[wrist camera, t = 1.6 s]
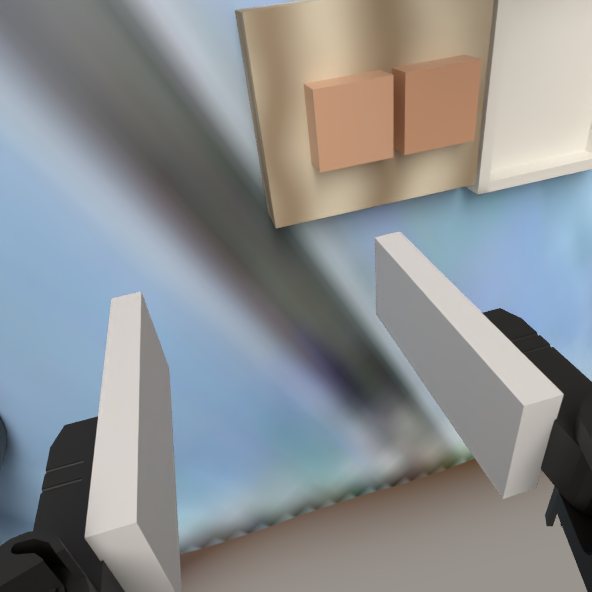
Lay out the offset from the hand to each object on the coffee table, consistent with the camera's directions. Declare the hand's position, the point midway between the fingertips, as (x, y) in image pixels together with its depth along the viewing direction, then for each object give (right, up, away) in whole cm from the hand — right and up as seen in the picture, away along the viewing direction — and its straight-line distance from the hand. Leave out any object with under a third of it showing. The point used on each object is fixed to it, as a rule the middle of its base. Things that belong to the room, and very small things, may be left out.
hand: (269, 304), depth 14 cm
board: (+5, +12, +17) cm, 21 cm away
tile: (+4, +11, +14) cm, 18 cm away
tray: (+17, +15, +19) cm, 30 cm away
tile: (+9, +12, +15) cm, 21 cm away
